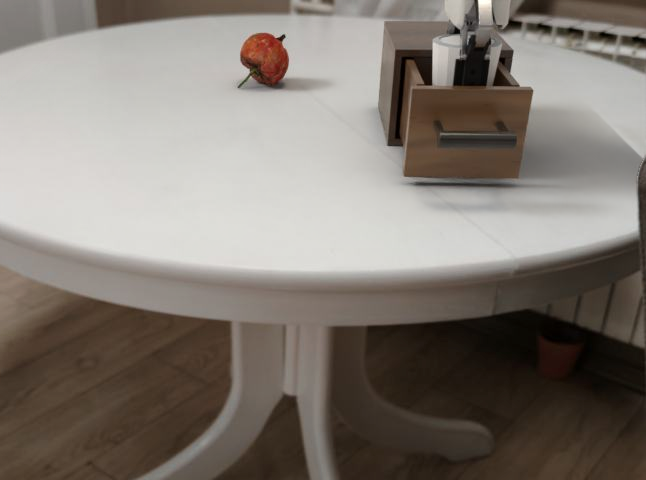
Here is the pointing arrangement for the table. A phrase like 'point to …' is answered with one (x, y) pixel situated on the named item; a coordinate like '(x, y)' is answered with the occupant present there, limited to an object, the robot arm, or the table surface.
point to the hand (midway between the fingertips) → (461, 89)
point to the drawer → (462, 125)
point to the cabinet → (396, 46)
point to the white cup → (447, 54)
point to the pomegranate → (264, 58)
